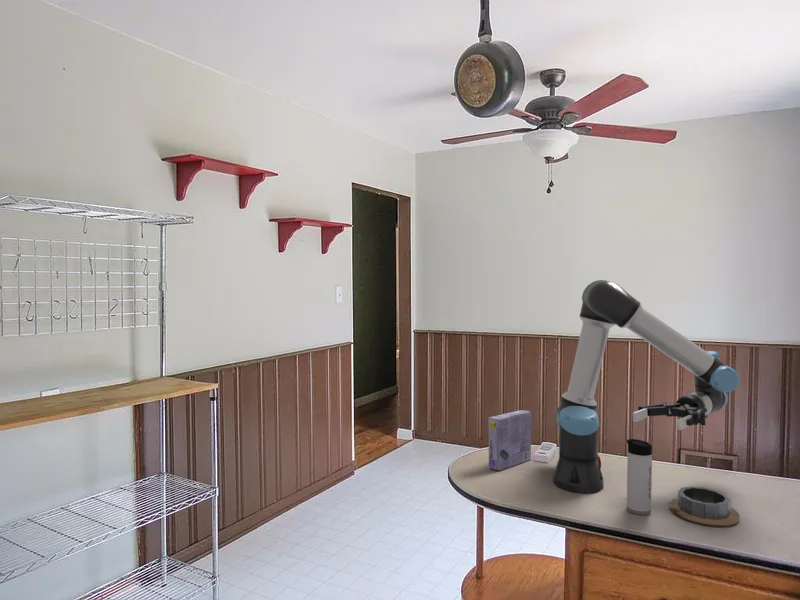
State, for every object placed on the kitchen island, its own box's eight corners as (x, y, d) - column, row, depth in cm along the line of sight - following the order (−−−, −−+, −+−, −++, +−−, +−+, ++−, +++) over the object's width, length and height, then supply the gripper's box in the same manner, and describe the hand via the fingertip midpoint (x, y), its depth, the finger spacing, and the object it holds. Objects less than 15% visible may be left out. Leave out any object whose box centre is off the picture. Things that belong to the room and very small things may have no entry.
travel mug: (622, 505, 159) (623, 437, 158) (645, 506, 159) (646, 437, 158) (630, 515, 153) (631, 443, 152) (654, 515, 153) (656, 444, 151)
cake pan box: (522, 455, 202) (522, 407, 201) (533, 459, 198) (534, 410, 197) (487, 468, 190) (487, 417, 189) (498, 472, 186) (498, 420, 185)
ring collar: (655, 504, 159) (656, 487, 159) (702, 497, 165) (702, 480, 164) (704, 531, 143) (705, 512, 143) (754, 521, 148) (755, 503, 148)
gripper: (736, 424, 163) (700, 442, 151) (656, 412, 183) (618, 426, 171) (735, 399, 162) (698, 414, 150) (654, 389, 183) (616, 402, 171)
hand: (655, 421), depth 161 cm, fingers open, 13 cm apart
